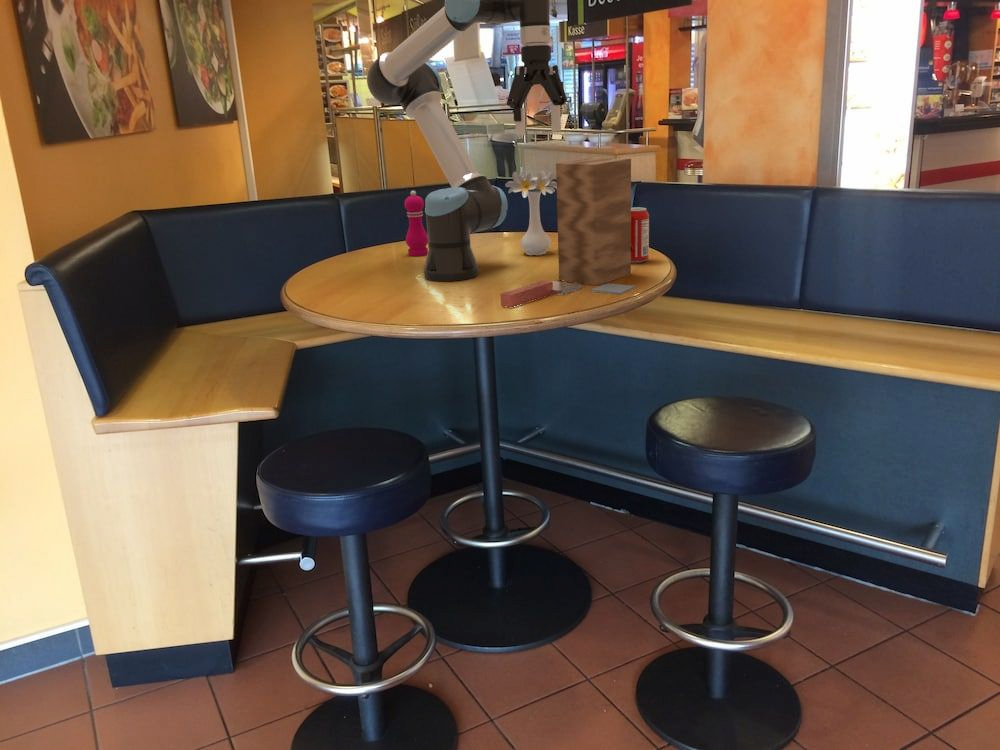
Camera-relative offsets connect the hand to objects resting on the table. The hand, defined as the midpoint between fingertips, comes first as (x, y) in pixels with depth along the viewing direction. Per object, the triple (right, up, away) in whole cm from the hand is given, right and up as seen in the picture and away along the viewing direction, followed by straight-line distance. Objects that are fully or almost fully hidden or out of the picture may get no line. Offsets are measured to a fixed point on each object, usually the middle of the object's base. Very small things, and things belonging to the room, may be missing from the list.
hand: (538, 133), depth 215 cm
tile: (+18, -42, -9) cm, 47 cm away
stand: (+15, -37, +6) cm, 40 cm away
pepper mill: (-36, -24, +50) cm, 66 cm away
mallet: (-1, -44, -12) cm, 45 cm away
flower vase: (+2, -25, +41) cm, 48 cm away
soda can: (+28, -30, +22) cm, 47 cm away
